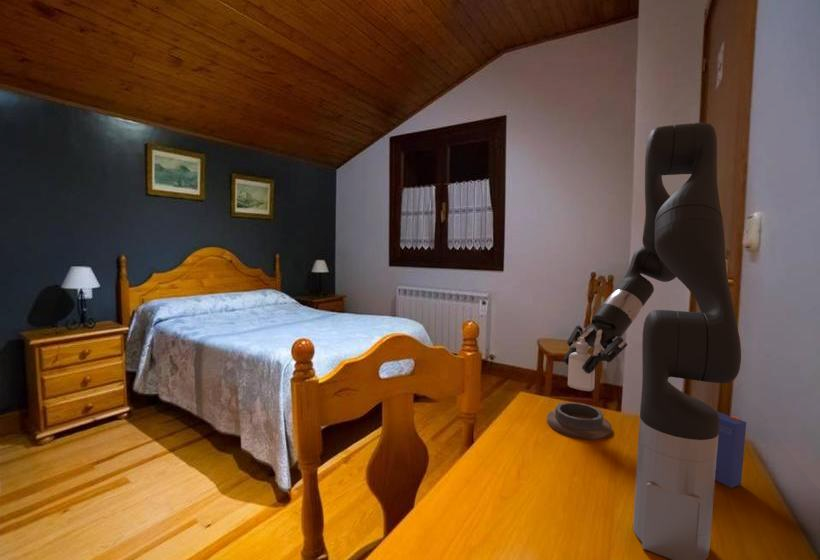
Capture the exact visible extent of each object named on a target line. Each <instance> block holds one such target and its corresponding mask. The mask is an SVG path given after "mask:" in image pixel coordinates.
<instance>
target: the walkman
mask: <svg viewBox="0 0 820 560" xmlns="http://www.w3.org/2000/svg"><path fill="white" fill-rule="evenodd" d="M715 411H716V412H717V413H718V415H719V419H720V425H719V436H718V449H717V460H716V472H715V481H716V482H718V483H720V484H722V485H724V486H727V487H728V488H730V489H732V488H735V487H738V486H741V485H742V477H743V467H744V466H743V465H744V464H743V463H744V451H745V441H746V430H747V421H744V420H741V418H740V417H737V416H735V415H727V414H725V413H722V412H720V411H717V410H715Z"/></svg>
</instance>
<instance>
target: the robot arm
mask: <svg viewBox="0 0 820 560" xmlns="http://www.w3.org/2000/svg"><path fill="white" fill-rule="evenodd" d="M715 129H716V128H714V126H713V125H712V124H711V123H707V122H694V123H681V124H670V125H662V126H657V127H654V128H653V129H652V130H651V131H650V132H649V136H648V138H647V141H646V147H645V154H644V155H645V157H644V201H645V219H644V226H643V232H642V233H643V234H642V240H641V241H642V245H643V246H641V247H638V248H637V249H636V250H635V251H634V253H633V255H632V257H631V261H630V263H629V266H628V269H627V272H626V274H625V276H624V278H623V279H622V280H621V282H620V283H619V284H618V286H617V287H616V288H615V290H613V291H612V292H611V294H610V295H609V296H607V298H606V299H605V300H604V301H603V303H601V306H600V307H599V308H598V309H597V310H596V312H595V313H594V314H593V316H592V318H591V322H590V324H589V325H588V326H586V327H582V326H581V325H579V324H578V325H576V326H575V328H574V329H573V330H572V333H571V335H570V336H569V338H568V340H567V341H566V345H568V346H569V350H568V351H567V352H566V354H565V355H564V357H563V359H562V362H564V364H565V365H566V366H568V362H569V355H570V354H571V353H573V352H577V351H576V348H577V342H580V339H581V337H584V339H585V342H586V343H587V344H588V350H589V349H590V348H594V349H593V353H592V354H590V355H591V356H590V357H589V359H588V360H587V361H586V363H585V364H584V365H583V367H582V369H583V370H584V371H585V372H586V373H588V374H590V373H591V372H592V371H593V370H594V369H595V370H596V368H597V367H598V365H599V364H600V363H602V362H606V363H611V362H612V361H613V360H614V359H615V358H616V357H617V356H618V355H619V354H620V353H621V352H622V351H624V350H625V348H626V347H627V346H628V343H627V342H626V340H625V339H624V338H623V335H625V333H626V332H627V330H628V329H629V328H630V326H631V325H632V323H633V322H634V321H635V320H636V318H637V317H638V316H639V314H640V311H641V310H642V309H643V307H644V306H645V304H646V303H647V302H648V300H649V299H650V298H651V297H652V295H653V293H654V291H655V287H654V284H652V282H651V281H650V280H649V279H647V278H646V277H648V278H651V279H654V280H657V281H659V282H663V283H668V282H672V281H673V280H675V279H676V278H677V279H678V280H679V281H680V282H681V283H682V284H683V285H684V286H685V287H686V289H687V290H688V291H689V292H690V293H691V295H692V296H693V298H694V300H695V302H696V303H697V304H696V305H697V306H698V308H699V311H700V312H699V311H698V312H696V311H684V310H682V311H681V310H671V309H670V310H668V309H654V310H651V311H649V313H647V315H646V317H645V320H644V322H643V328H642V341H641V342H642V343H641V345H642V346H641V347H642V348H641V349H642V351H641V353H642V355H641V356H642V358H641V359H642V360H641V361H642V382H641V383H642V385H641V386H642V387H641V399H640V409H639V423H638V424H639V426H638V427H639V428H638V440H637V453H636V454H637V455H636V457H637V458H636V472H635V486H634V488H635V489H634V490H635V492H634V504H633V505H634V507H633V509H634V510H633V525H632V527H633V532H634V533H635V535H636V538H638V539H639V541H640V542H641V544H642V545H641V548H642V549H644V550H646V551H648V552H651V553H654V554H656V555H659V556H662V557H664V558H667V559H669V560H707V559H708V558H709V556H710V547H711V538H712V537H711V535H712V525H713V524H712V521H713V511H714V510H713V509H714V508H713V506H714V498H715V497H714V496H715V483H716V482H715V481H716V480H715V472H716V460H717V449H718V436H719V425H720V419H719V415H718V413H717V412H718V411H717V410H716V409H714V408H713V407H712V406H710V404H707V403H706V402H704V401H701V400H700V399H698V398H696V397H693V396H691V395H689V394H687V393H685V392H683V391H682V390H680V389H679V388H677V387H675V386H674V385H673V384H672V383H671V382H669V378H676V379H683V380H691V381H696V382H697V381H698V382H699V381H700V382H706V383H714V384H727V383H728V384H729V383H731V382H733V381H735V379H736V378H737V377H738V375H739V372H740V370H741V369H740V368H741V364H742V348H741V338H740V334H739V333H740V332H739V327H738V322H737V316H736V313H735V308H734V303H733V299H732V295H731V290H730V285H729V284H730V283H729V280H728V279H729V278H728V270H727V261H726V260H727V259H726V257H727V256H726V242H725V228H724V220H723V215H722V208H721V204H720V203H721V202H720V195H719V194H720V193H719V188H718V187H719V186H718V139H717V133H716V130H715ZM674 175H675V176H676V175H678V176H679V175H690V176H689V177H688V179H687V180H686V181H685V182H684V183H683V185H682V186H680V187H679V188H678V189H677V190H675V191H674V193H672V194H671V196H670V194H669V193H668V191H667V190H666V188H665V185H664V183H663V182H664V181H663V176H674ZM645 276H646V277H645ZM716 411H717V412H716Z"/></svg>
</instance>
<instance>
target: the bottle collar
mask: <svg viewBox="0 0 820 560" xmlns="http://www.w3.org/2000/svg"><path fill="white" fill-rule="evenodd" d="M546 422H547V425H548V426H549V427H550V428H551V429H553V430H554V431H556V432H557V433H560V434H562V435H565V436H567V437H571V438H575V439H580V440H587V441H588V440H589V441H590V440H592V441H595V440H596V441H597V440H603V439H606V438H608V437H610V436H611V435H612V432H613V430H612V424H611V423H610V422H609V420H607V419H606V418H604V413H603V412H602V411H601V410H600V409H599V408H596V407H595V406H593V405H590V404H586V403H581V402H568V401H567V402H561V403H558V404H557V405H556V407H555V409H554V410H552V411H549V412H548V413H547V416H546Z"/></svg>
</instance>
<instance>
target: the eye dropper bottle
mask: <svg viewBox="0 0 820 560" xmlns="http://www.w3.org/2000/svg"><path fill="white" fill-rule="evenodd" d="M576 351H577V352H573V353H571V354H570V355H569V362H568V365H567V366H568V367H567V386H568V387H569V388H572V389H575V390H579V391H585V392H592V391H593V390H594V389H595V376H596V368H595V369H594V370H593V371H592V372H591V373H590V374H588V373H586V372H585V371H584V370H583V369H582V367H583V365H584V364H585V363H586V361H587V360H588V359H589V357H590V356H591V355H592V354H590V353H588V351H589V349H588V344H587V342H586V341H585V339H584V337H581V339H580V342H577V348H576Z"/></svg>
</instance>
